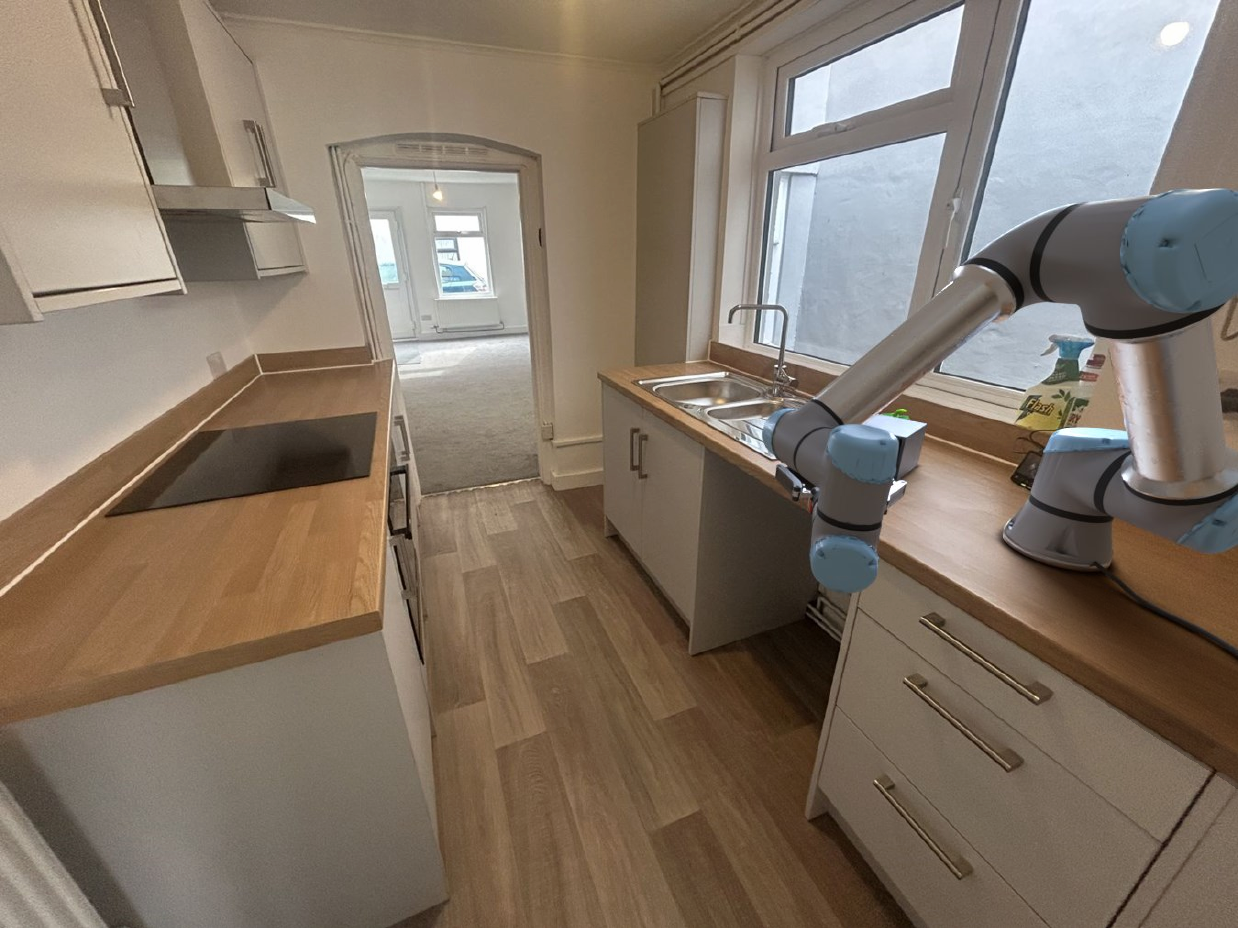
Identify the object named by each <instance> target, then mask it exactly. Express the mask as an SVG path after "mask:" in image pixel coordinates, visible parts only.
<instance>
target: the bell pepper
mask: <svg viewBox="0 0 1238 928" xmlns="http://www.w3.org/2000/svg"><path fill="white" fill-rule="evenodd" d="M907 411H908V410H907V409H900V408H899V409H897V410H896V411H895V412H891V413H888V412H883V413H882V414H881V415H885V416H890V417H895V418H900V419H906V420H910V417H909V415H905V414H906V412H907ZM900 413H903V414H901V415H899V414H900Z"/></svg>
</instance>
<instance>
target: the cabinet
mask: <svg viewBox="0 0 1238 928" xmlns="http://www.w3.org/2000/svg"><path fill="white" fill-rule="evenodd" d="M864 425H867V426H872V427H874V428H881V429H884V430H886V431H888V432H890V433H892V434H893V435H894V436H895V437H896V438H897V439H901V440H902V443H901V448H900V452H899V457H898V461H897V465H896V472H895V475H894V478H893V479H894V481H895V482H898V481H900V480H901V479H902V478H903V477H905V476H906V475H907V474H908V473H910V472H911V471H912V470H913V469H915V468H917V466H918V464H919V461H920V456H921V451H922V449H923V444H924V439H925V435H926V431H927V428H928V423H926V422H920V421H916V420H911V419H909V420H906V419H900V418H895V417H890V416H885V415H882V414H879V413H878V414H876V415H875V416H874V417H873V418H872V419H870V420H869V421H868V422H867V423H865V424H864Z"/></svg>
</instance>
